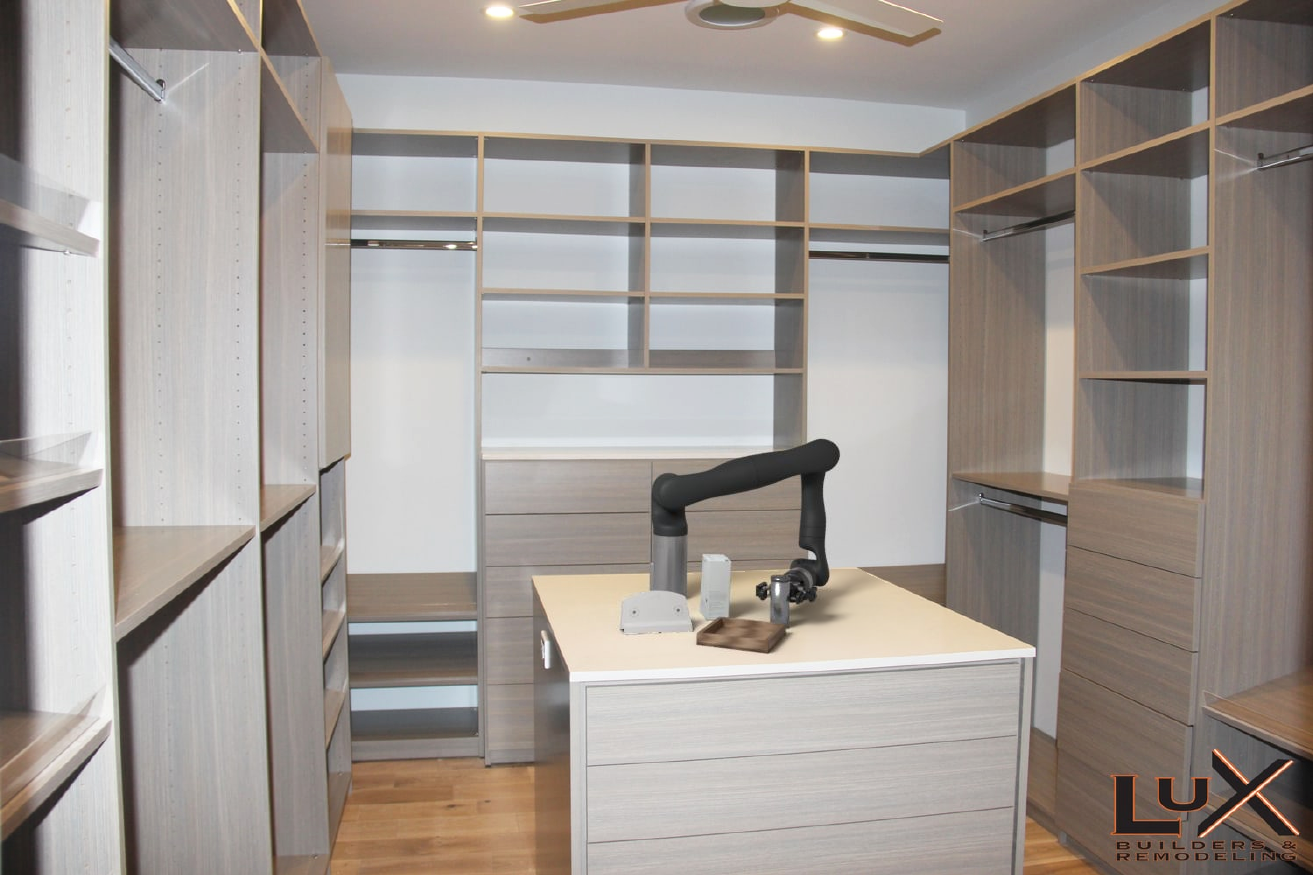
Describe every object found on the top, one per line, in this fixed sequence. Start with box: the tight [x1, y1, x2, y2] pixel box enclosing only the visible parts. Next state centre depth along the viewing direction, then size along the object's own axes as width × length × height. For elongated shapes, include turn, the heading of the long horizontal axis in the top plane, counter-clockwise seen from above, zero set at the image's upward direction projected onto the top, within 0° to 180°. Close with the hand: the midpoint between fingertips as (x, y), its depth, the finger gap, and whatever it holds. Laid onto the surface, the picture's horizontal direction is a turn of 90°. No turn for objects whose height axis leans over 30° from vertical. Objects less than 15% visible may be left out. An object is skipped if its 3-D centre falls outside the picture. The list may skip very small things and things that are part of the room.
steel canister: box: [769, 574, 790, 630], centre depth 213 cm, size 5×5×12 cm
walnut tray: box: [695, 616, 787, 654], centre depth 202 cm, size 16×16×2 cm
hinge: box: [619, 590, 693, 634], centre depth 210 cm, size 17×5×10 cm, turn 103°
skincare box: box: [699, 553, 732, 621], centre depth 222 cm, size 8×6×15 cm
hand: (779, 598), depth 212 cm, fingers open, 8 cm apart
